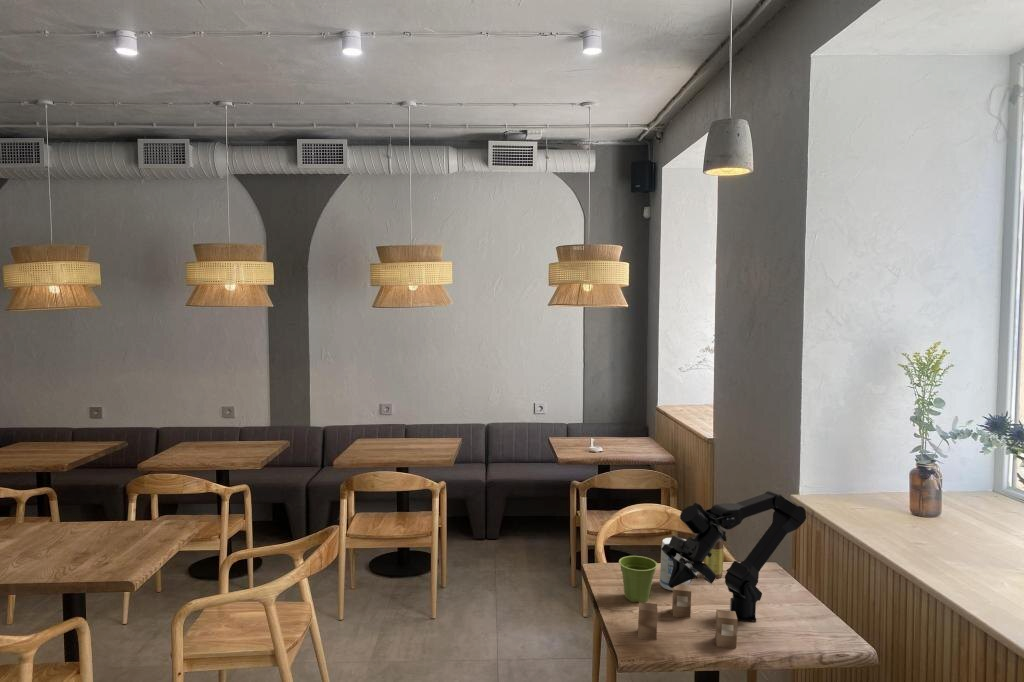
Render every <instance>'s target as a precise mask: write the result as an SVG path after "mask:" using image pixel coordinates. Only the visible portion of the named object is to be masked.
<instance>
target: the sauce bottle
mask: <svg viewBox="0 0 1024 682" xmlns="http://www.w3.org/2000/svg"><path fill="white" fill-rule="evenodd" d="M710 524H713V525H716V524H714V523H712V522H711V523H710ZM716 526H717V527H718V528H719V529H721V527H720V526H718V525H716ZM724 548H725V547H724V541H723V540H721V539H719V540H718V542H717V543H716V544H715V546H714V547H713V548H712V550H711V551H710V553H711V554H712V555H711V556H710V557H708V556H706V558H705V559H704V560H703V563H704V564H706V565H707V566H708V567H709V568H710V569H711V570H712V571H713V572H714V573H715V574H716V578H715V580H716V579H720V578H723V572H724Z"/></svg>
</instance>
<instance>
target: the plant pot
mask: <svg viewBox="0 0 1024 682" xmlns="http://www.w3.org/2000/svg"><path fill="white" fill-rule="evenodd" d="M618 564H619V566H620V570H621V574H622V582H623V590H624V597H625V598H626V600H628V601H631V602H633V603H634V602H638V603H639V602H643V603H646V602H648V600H649V599H650V593H651V589H652V585H653V584H652V583H653V579H654V576H655V572H656V569H657V568H658V565H659V564H658V562H657V561H655V560H654V559H652V558H649V557H646V556H639V555H628V556H623V557H620V559H619V560H618Z"/></svg>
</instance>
